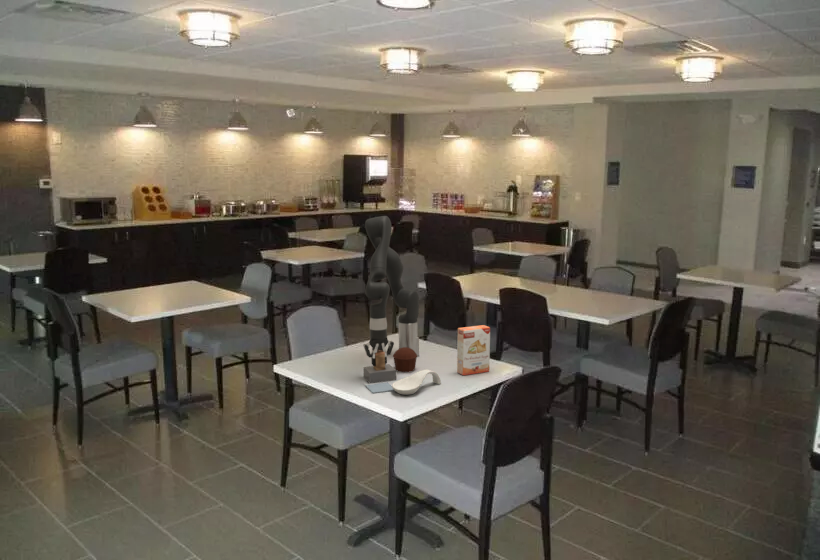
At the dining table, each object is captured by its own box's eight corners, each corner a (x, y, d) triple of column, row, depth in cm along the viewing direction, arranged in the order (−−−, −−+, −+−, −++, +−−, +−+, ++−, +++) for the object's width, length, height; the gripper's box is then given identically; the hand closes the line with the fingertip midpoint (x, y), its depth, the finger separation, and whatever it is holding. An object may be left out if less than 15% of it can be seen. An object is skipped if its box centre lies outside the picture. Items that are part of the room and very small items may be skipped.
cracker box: (463, 376, 290) (463, 330, 287) (456, 372, 296) (456, 327, 292) (490, 371, 296) (490, 327, 293) (483, 368, 302) (483, 324, 298)
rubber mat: (387, 383, 282) (387, 382, 282) (395, 390, 273) (395, 389, 272) (365, 386, 278) (365, 385, 278) (372, 393, 269) (372, 392, 269)
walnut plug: (382, 375, 291) (381, 349, 289) (385, 378, 288) (384, 352, 286) (373, 376, 290) (373, 350, 288) (376, 379, 286) (375, 353, 284)
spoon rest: (405, 400, 262) (405, 382, 261) (386, 392, 271) (386, 376, 270) (446, 386, 278) (446, 370, 277) (427, 380, 286) (427, 364, 285)
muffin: (392, 366, 307) (392, 345, 305) (415, 365, 308) (415, 344, 306) (394, 373, 295) (393, 352, 293) (418, 372, 296) (418, 351, 294)
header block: (388, 373, 296) (388, 363, 295) (396, 379, 286) (396, 370, 286) (363, 376, 291) (363, 366, 291) (370, 383, 282) (369, 373, 281)
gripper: (391, 323, 291) (391, 361, 294) (360, 327, 286) (361, 364, 289) (396, 327, 284) (397, 365, 287) (365, 330, 279) (366, 369, 282)
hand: (379, 365), depth 288 cm, fingers closed on walnut plug, 4 cm apart
